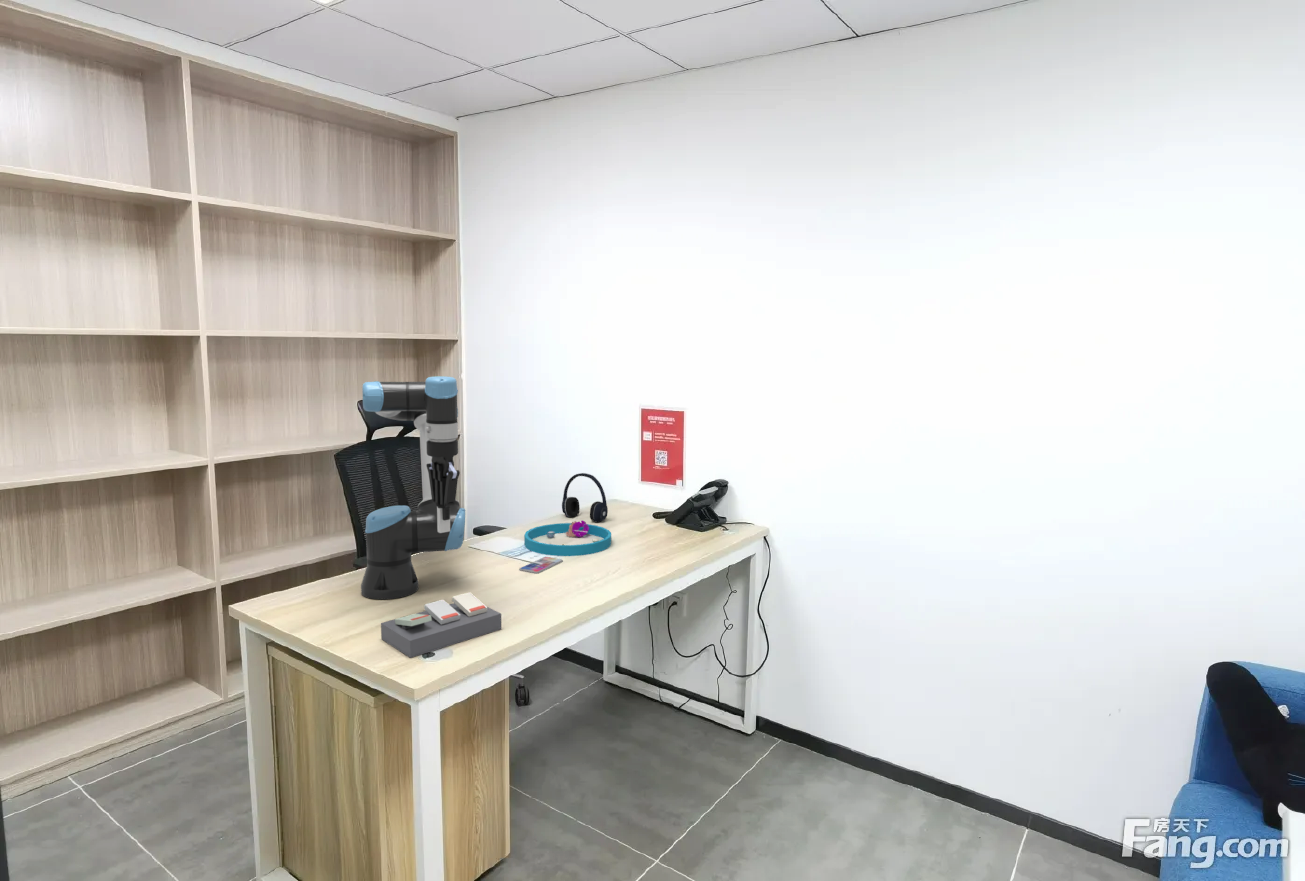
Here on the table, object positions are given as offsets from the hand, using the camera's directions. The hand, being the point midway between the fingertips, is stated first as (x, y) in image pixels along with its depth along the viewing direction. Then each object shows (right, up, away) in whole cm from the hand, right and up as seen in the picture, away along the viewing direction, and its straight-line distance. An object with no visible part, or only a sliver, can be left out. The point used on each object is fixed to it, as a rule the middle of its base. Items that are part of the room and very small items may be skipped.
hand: (443, 531), depth 186 cm
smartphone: (+18, -17, +45) cm, 52 cm away
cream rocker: (+8, -17, -4) cm, 19 cm away
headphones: (+26, -8, +105) cm, 108 cm away
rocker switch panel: (0, -23, -7) cm, 24 cm away
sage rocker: (-3, -19, -15) cm, 24 cm away
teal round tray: (+23, -14, +71) cm, 76 cm away
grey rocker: (+2, -18, -10) cm, 21 cm away
